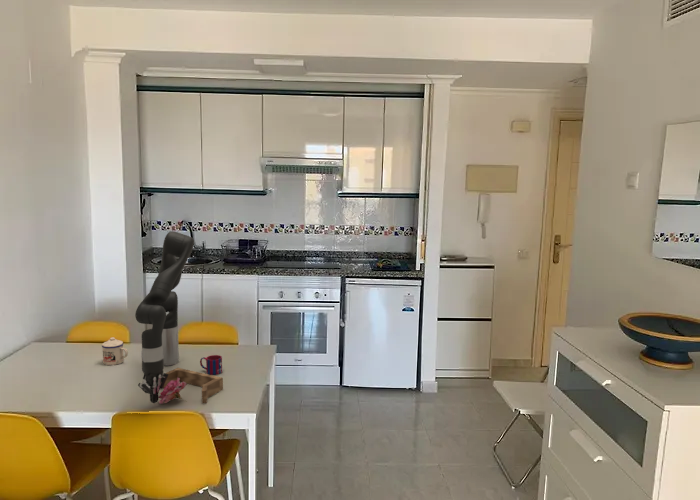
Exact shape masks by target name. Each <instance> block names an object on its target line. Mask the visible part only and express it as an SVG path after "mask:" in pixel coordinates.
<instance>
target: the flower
mask: <svg viewBox="0 0 700 500" xmlns="http://www.w3.org/2000/svg"><path fill="white" fill-rule="evenodd" d="M179 381H180V378H177V380H175V381H174V380H172V381H171V382H169V383H168V384H167V386H166V387H165V388H163V390H162V391H161V392H160V393H159V394H160V395H159V400H158V402H159V403H158V404H160V405H164V404H168V402H170V401H173V400H175V399H177V400H179V399H180V400H183V398H182V397H181V393H180V392H181V391H182V390H183V389H185V388H186V386H187V383H186V382H184V381H183V382H179ZM185 402H188V401H187V400H185Z"/></svg>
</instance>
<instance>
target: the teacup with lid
mask: <svg viewBox="0 0 700 500" xmlns="http://www.w3.org/2000/svg"><path fill="white" fill-rule="evenodd" d="M101 347H102V362H103V364H104V365H105V366H116V365H119V364H122V363H124V361H125V360H124V359H126V358H127V356H128V354H129V352H128V351H129V350H128V349H127V348H126V347H124V342H123V340H119V339H116V338H115V337H110V338H109V339H108V340H107V341H104V342H103V343H101ZM124 353H125V354H124Z"/></svg>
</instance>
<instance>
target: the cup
mask: <svg viewBox="0 0 700 500" xmlns="http://www.w3.org/2000/svg"><path fill="white" fill-rule="evenodd" d="M203 359H204V360H205V361H206V362H205V363H206V365H205V366H204V365H203ZM199 364H200V366H201V368H202V369H204V370H206V374H208V375H213V376H217V375H220V374H222V373H223V357H222V355H220V354H211V355H208V356H206V357H201V358H200V361H199Z"/></svg>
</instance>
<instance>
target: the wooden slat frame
mask: <svg viewBox="0 0 700 500" xmlns="http://www.w3.org/2000/svg"><path fill="white" fill-rule="evenodd" d="M165 373H166V374H168V377H167V379H166V382H165V384H164V386H163V388H162V389H164V388H165V387H166V386H167V384H168V383H169V382H171V381H172V380H174V381H175V380H177V378H180V381H179V383H182V382H183V381H184V382H186V385H187V384H188V385H193V386H196V387H201V403H202V404H207V402H208V399H209V398H210V397H212V396H214V395H215V394H218V393H219V392H221V391H223V390H224V377H221V376H217V375H209V374H207V373H203V372H198V371H195V370H194V371H193V370H189V369H185V368H181V367H176V368H174V369H171V370H169V371H167V372H165ZM161 383H162V382H161ZM161 383H160V385H161Z"/></svg>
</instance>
